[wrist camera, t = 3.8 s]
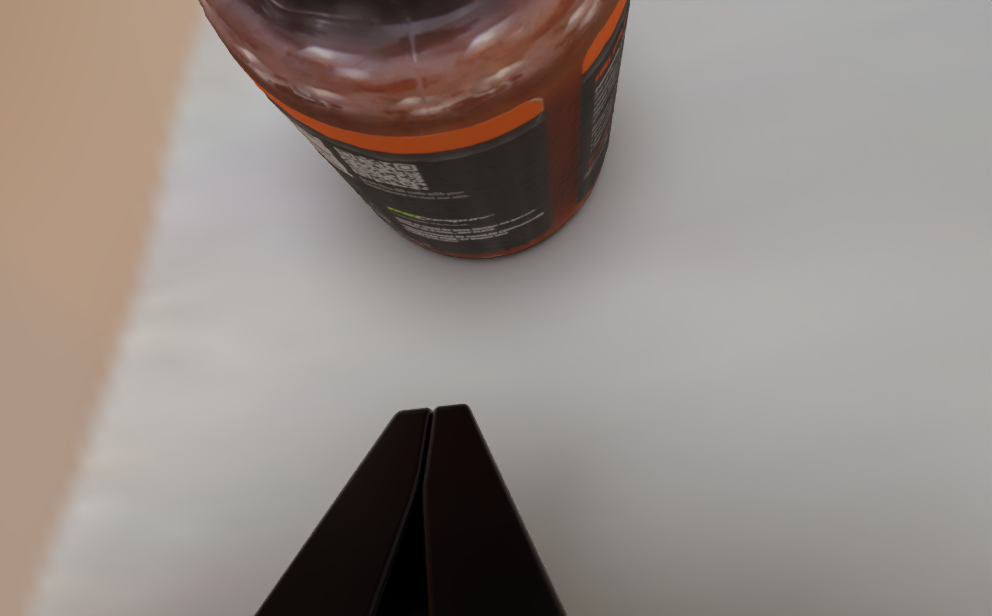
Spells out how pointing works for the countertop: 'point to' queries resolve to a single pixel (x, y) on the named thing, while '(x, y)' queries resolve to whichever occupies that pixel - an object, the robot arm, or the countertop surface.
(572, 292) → the countertop surface
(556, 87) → the supplement bottle
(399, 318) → the countertop surface
